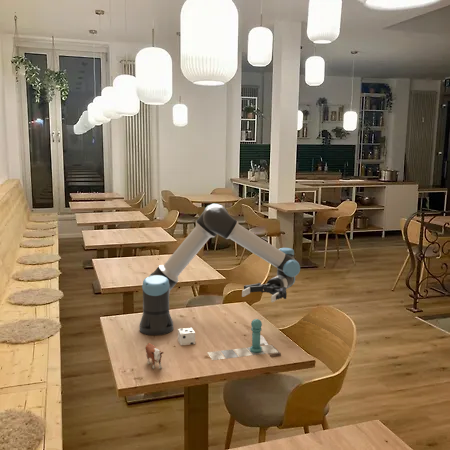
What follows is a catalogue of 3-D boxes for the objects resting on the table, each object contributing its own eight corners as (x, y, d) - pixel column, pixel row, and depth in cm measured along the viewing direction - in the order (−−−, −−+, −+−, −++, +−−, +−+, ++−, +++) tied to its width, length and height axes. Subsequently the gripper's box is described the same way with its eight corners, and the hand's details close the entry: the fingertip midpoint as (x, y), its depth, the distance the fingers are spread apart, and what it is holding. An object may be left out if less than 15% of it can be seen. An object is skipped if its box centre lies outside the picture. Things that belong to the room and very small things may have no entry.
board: (211, 364, 186) (211, 361, 186) (204, 354, 195) (204, 351, 194) (280, 355, 194) (280, 352, 194) (271, 346, 203) (271, 344, 203)
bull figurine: (153, 375, 177) (153, 353, 176) (144, 360, 189) (144, 340, 188) (165, 372, 179) (165, 351, 177) (155, 358, 191) (155, 338, 189)
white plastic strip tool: (259, 351, 199) (259, 349, 199) (251, 338, 214) (251, 335, 214) (271, 350, 200) (271, 348, 200) (262, 337, 215) (262, 334, 214)
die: (180, 348, 201) (180, 333, 200) (177, 342, 206) (177, 328, 206) (195, 346, 202) (195, 332, 202) (191, 341, 208) (191, 327, 207)
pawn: (252, 353, 193) (253, 321, 191) (248, 348, 198) (249, 317, 196) (263, 352, 195) (264, 320, 193) (259, 347, 199) (259, 316, 197)
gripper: (301, 297, 221) (284, 310, 203) (251, 288, 233) (230, 299, 214) (302, 281, 220) (285, 292, 202) (252, 273, 232) (231, 283, 213)
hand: (257, 296), depth 208 cm, fingers open, 13 cm apart
